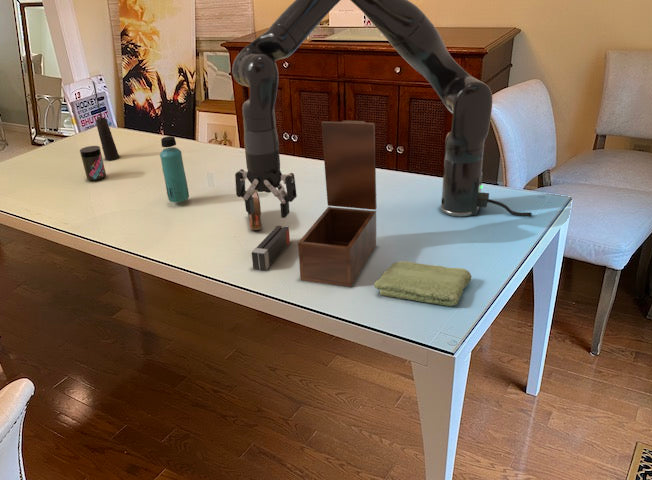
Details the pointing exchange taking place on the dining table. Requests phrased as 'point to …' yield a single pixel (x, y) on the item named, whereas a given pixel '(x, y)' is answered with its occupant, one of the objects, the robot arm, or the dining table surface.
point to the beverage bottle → (173, 171)
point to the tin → (255, 213)
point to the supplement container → (93, 163)
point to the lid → (350, 164)
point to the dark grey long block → (270, 248)
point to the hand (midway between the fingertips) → (267, 215)
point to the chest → (337, 246)
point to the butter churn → (105, 136)
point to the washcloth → (424, 283)
